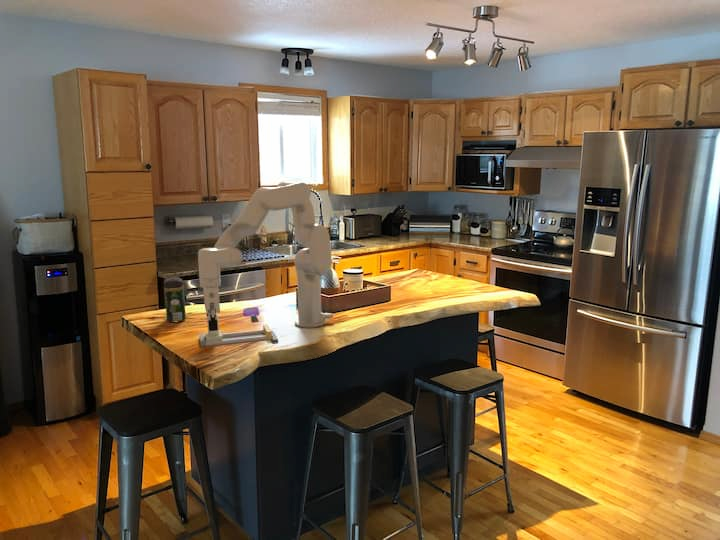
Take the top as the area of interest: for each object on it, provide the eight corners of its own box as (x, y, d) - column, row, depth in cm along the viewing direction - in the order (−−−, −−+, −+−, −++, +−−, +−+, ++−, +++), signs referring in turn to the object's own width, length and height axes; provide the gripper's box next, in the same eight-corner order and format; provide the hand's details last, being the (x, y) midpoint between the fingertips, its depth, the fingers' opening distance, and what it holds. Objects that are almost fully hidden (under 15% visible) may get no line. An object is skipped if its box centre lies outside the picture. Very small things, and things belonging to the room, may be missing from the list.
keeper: (221, 337, 224) (220, 313, 222) (222, 342, 218) (221, 317, 216) (205, 338, 222) (203, 314, 220) (206, 343, 216) (204, 319, 214)
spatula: (265, 326, 244) (264, 320, 243) (248, 328, 242) (248, 322, 241) (258, 312, 266) (257, 306, 266) (242, 313, 264) (242, 308, 264)
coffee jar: (167, 317, 257) (164, 276, 254) (186, 316, 259) (183, 274, 256) (165, 323, 248) (162, 280, 245) (185, 322, 250) (182, 279, 247)
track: (272, 333, 233) (272, 323, 232) (278, 342, 221) (277, 331, 221) (199, 340, 224) (198, 330, 224) (201, 350, 213) (200, 339, 212)
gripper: (222, 285, 209) (224, 332, 212) (218, 276, 225) (220, 320, 228) (200, 287, 206) (203, 334, 210) (198, 278, 223) (200, 321, 226)
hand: (212, 327), depth 219 cm, fingers open, 9 cm apart
